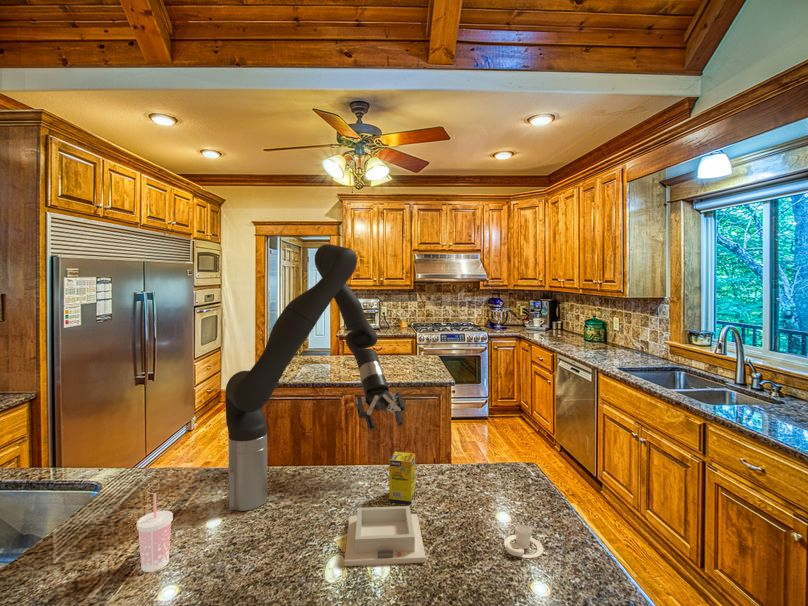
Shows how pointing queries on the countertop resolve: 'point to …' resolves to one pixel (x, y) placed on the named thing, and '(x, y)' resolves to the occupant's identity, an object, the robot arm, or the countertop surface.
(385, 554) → the socket base
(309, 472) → the countertop surface
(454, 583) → the countertop surface
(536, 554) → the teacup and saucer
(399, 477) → the supplement box
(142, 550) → the beverage cup
